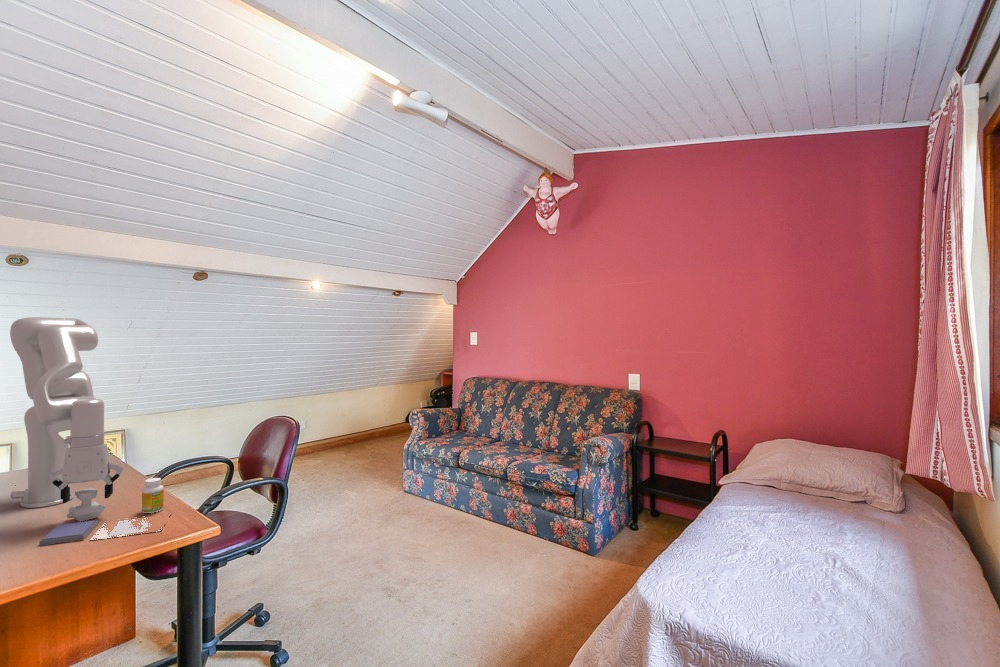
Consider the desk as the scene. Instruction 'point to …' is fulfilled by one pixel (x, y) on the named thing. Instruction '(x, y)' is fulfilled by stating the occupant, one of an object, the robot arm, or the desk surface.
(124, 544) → the desk surface
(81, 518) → the stamp
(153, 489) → the supplement bottle
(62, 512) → the desk surface
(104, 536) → the paper
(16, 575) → the desk surface
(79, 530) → the ink pad
